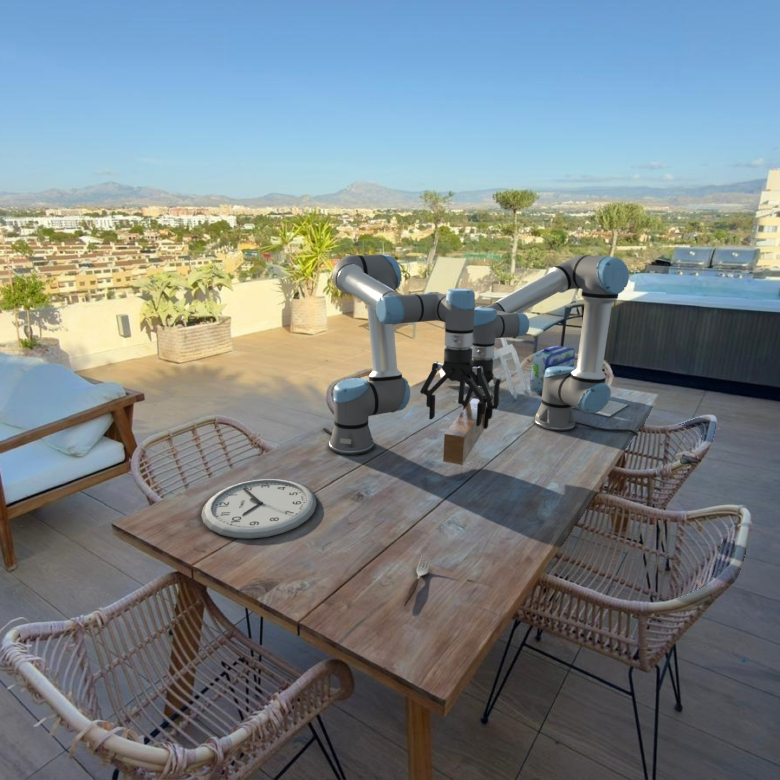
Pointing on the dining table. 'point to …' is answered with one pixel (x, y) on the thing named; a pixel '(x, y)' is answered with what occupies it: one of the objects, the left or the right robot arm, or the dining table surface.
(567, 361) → the lunch box
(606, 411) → the invitation card
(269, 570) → the dining table surface
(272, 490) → the wall clock
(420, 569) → the fork
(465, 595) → the dining table surface
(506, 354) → the white plastic object
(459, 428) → the bar
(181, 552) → the dining table surface
